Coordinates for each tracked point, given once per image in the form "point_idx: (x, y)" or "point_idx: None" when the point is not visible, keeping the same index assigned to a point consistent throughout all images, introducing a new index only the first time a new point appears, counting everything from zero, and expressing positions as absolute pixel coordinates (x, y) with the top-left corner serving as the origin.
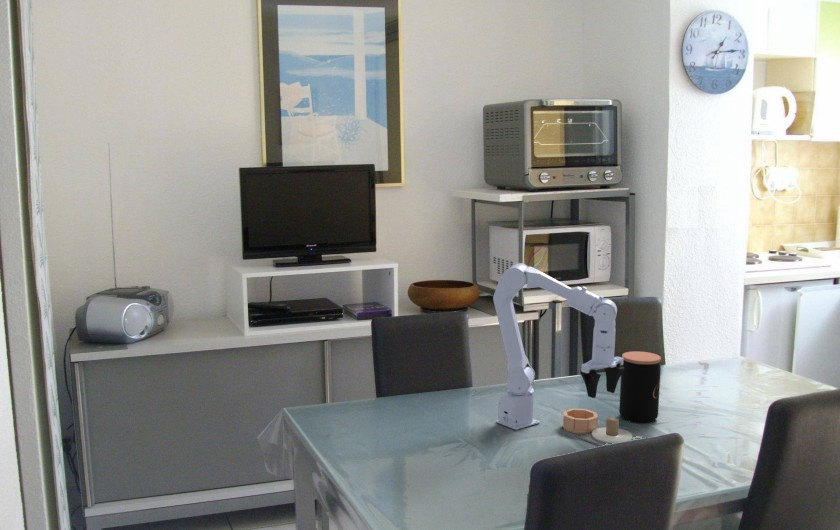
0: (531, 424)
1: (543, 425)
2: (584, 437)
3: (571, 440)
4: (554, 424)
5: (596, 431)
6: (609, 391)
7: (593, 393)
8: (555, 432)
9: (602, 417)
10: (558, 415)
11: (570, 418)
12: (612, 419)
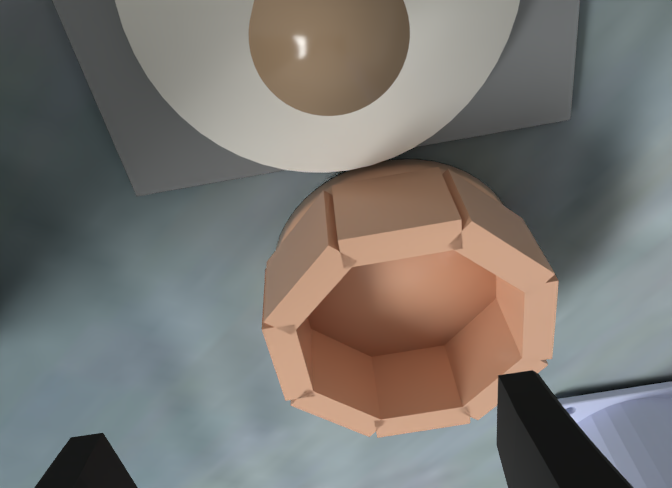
0: (626, 392)
1: (552, 373)
2: (545, 87)
3: (649, 102)
4: None
5: (405, 115)
6: (123, 477)
7: (575, 431)
8: (596, 268)
9: (107, 358)
10: (353, 449)
11: (554, 306)
12: (334, 38)
